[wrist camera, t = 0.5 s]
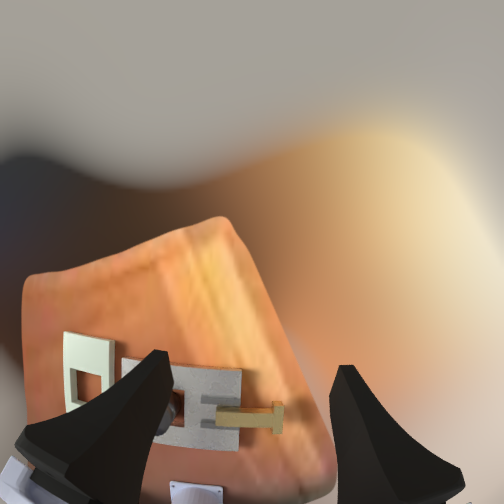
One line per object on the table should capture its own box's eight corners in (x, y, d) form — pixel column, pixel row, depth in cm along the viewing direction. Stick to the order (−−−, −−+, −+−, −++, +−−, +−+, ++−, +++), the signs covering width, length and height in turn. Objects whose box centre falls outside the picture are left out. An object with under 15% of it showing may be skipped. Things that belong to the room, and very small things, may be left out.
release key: (279, 427, 31) (282, 433, 29) (216, 426, 30) (215, 432, 28) (281, 401, 32) (284, 406, 30) (216, 399, 31) (215, 404, 29)
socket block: (238, 445, 32) (238, 453, 29) (129, 431, 31) (122, 437, 28) (241, 368, 35) (242, 372, 32) (127, 356, 34) (119, 358, 31)
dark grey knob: (181, 417, 32) (169, 438, 25) (153, 412, 32) (136, 432, 24) (181, 391, 33) (168, 408, 26) (153, 387, 33) (134, 402, 25)
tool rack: (117, 439, 30) (113, 444, 29) (74, 426, 30) (68, 429, 28) (114, 340, 34) (109, 341, 32) (70, 331, 34) (63, 331, 32)
